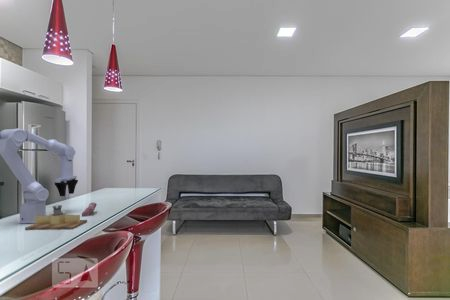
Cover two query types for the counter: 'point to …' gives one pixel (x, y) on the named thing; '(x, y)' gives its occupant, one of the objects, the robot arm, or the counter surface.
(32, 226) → the hinge board
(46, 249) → the counter surface
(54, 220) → the hinge
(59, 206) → the hinge pin
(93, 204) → the mauve lumpy piece
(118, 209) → the counter surface
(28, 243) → the counter surface
